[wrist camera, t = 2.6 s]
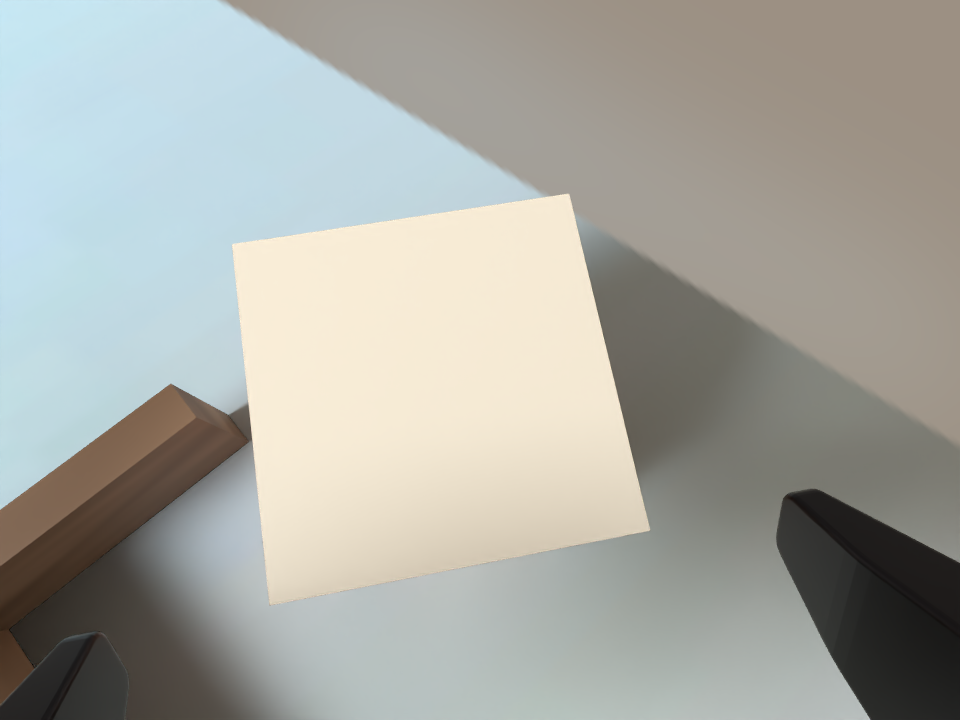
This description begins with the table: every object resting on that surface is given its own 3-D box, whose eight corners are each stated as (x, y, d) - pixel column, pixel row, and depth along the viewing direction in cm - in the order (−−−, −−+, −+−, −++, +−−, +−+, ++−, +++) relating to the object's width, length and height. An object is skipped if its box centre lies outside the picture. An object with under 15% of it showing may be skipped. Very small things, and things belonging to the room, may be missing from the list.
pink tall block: (546, 533, 19) (650, 530, 9) (366, 569, 18) (269, 605, 9) (511, 361, 20) (569, 193, 10) (341, 390, 19) (231, 244, 10)
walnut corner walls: (494, 756, 17) (506, 821, 13) (214, 1030, 15) (134, 1194, 12) (227, 414, 19) (170, 383, 15) (-47, 624, 17) (-190, 650, 14)
